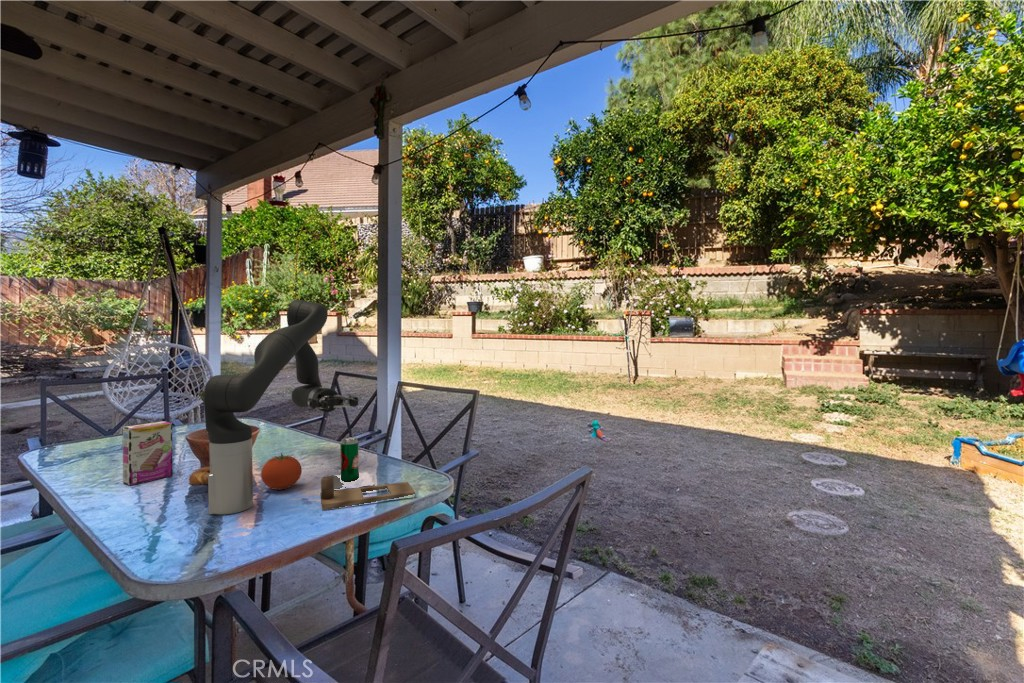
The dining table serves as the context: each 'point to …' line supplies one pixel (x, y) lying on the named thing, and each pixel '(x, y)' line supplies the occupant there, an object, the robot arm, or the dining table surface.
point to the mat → (337, 482)
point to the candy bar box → (147, 452)
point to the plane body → (358, 494)
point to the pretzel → (200, 476)
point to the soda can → (349, 459)
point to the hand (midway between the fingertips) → (341, 404)
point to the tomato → (281, 472)
